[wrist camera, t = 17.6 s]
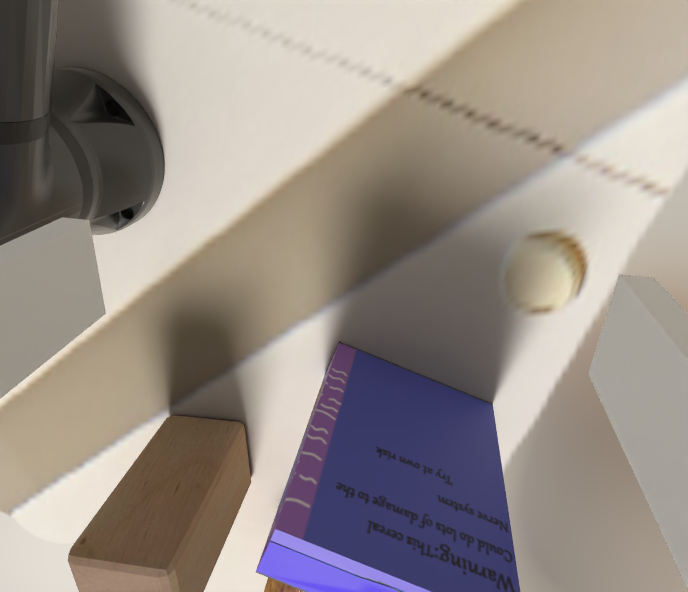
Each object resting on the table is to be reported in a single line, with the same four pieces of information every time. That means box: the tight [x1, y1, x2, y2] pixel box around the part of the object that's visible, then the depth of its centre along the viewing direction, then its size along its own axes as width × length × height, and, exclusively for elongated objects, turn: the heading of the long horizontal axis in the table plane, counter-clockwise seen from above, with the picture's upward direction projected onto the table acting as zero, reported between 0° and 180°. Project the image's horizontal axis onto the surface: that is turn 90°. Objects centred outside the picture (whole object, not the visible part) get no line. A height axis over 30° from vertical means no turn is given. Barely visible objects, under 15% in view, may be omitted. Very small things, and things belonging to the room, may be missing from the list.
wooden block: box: [68, 415, 251, 592], centre depth 55 cm, size 10×10×20 cm
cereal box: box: [256, 342, 520, 592], centre depth 45 cm, size 17×5×24 cm, turn 70°
